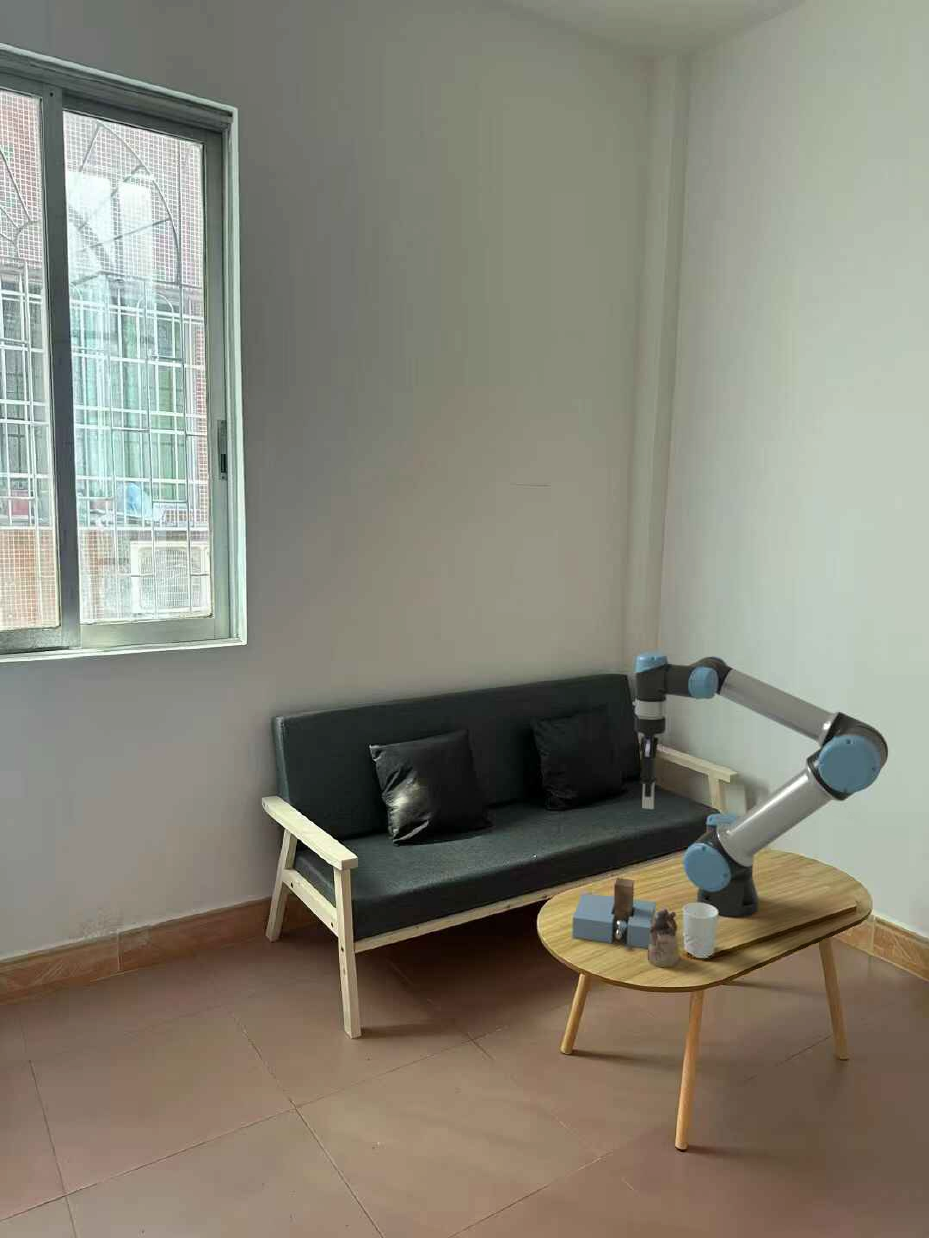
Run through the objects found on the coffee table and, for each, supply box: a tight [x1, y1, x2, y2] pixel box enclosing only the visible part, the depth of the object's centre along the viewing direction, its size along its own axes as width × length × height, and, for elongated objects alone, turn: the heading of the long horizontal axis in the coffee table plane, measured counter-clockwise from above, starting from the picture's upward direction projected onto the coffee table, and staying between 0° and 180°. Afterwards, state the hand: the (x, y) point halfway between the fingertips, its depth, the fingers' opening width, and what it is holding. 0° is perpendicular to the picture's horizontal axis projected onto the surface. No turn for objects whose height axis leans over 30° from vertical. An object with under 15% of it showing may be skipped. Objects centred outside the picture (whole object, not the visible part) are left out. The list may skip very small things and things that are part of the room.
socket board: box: [572, 892, 656, 949], centre depth 215 cm, size 18×14×5 cm
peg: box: [613, 877, 635, 935], centre depth 214 cm, size 4×4×12 cm
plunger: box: [614, 920, 627, 940], centre depth 209 cm, size 3×6×3 cm, turn 163°
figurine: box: [646, 908, 680, 968], centre depth 200 cm, size 7×7×12 cm
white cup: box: [682, 902, 719, 959], centre depth 204 cm, size 8×8×10 cm
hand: (647, 807), depth 223 cm, fingers closed
